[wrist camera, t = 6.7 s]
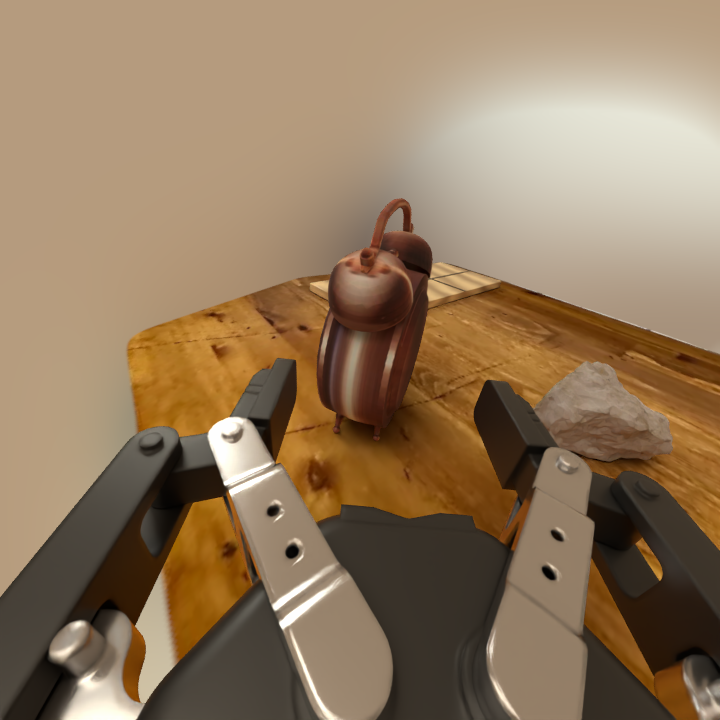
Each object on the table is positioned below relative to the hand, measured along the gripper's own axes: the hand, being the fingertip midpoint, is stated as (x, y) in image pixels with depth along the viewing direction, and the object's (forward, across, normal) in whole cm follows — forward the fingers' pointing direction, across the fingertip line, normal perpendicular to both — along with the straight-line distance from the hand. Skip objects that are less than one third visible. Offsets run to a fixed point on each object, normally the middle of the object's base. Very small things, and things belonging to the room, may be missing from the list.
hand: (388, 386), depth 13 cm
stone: (+7, -16, +9) cm, 20 cm away
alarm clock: (+8, 0, +9) cm, 12 cm away
